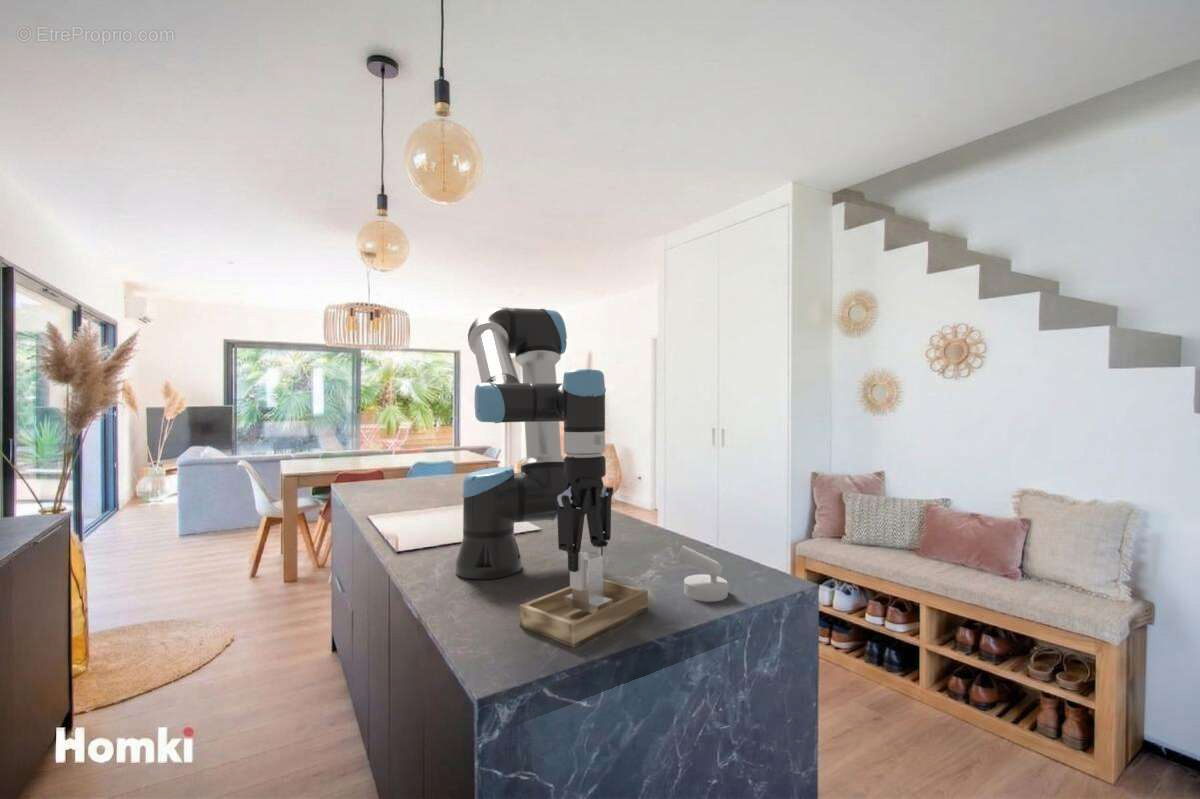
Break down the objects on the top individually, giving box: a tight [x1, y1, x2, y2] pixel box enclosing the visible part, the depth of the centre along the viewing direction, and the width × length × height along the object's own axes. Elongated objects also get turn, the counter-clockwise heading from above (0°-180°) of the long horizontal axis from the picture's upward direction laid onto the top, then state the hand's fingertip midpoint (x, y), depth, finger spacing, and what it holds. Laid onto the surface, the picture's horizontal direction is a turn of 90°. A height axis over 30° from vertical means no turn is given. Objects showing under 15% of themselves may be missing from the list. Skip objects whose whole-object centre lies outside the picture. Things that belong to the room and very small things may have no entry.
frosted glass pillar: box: [564, 551, 613, 613], centre depth 94 cm, size 8×4×9 cm, turn 49°
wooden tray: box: [518, 578, 649, 649], centre depth 95 cm, size 13×20×4 cm, turn 139°
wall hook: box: [676, 544, 729, 603], centre depth 106 cm, size 9×10×10 cm
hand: (585, 584), depth 94 cm, fingers closed on frosted glass pillar, 4 cm apart
